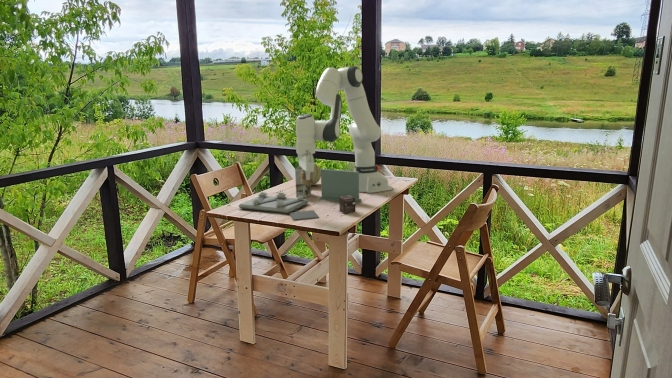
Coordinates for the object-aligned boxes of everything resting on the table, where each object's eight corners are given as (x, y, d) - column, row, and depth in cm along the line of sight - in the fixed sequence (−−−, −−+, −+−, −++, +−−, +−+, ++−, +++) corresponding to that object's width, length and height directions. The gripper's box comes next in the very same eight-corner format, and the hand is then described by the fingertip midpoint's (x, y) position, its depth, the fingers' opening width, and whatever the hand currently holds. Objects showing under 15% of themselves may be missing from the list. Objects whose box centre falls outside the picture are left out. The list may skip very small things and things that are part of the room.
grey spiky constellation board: (237, 209, 244) (236, 195, 242) (261, 199, 263) (260, 186, 261) (289, 214, 231) (288, 200, 230) (310, 203, 250) (309, 190, 249)
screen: (319, 199, 258) (318, 170, 255) (325, 196, 263) (324, 168, 260) (356, 203, 248) (355, 173, 244) (361, 201, 253) (360, 170, 249)
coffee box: (307, 197, 264) (306, 168, 260) (296, 197, 265) (294, 168, 261) (311, 193, 272) (310, 165, 269) (300, 193, 274) (299, 165, 270)
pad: (313, 211, 236) (313, 210, 236) (319, 217, 225) (318, 216, 225) (289, 213, 233) (289, 212, 233) (293, 220, 222) (293, 219, 222)
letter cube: (310, 181, 232) (310, 170, 231) (312, 183, 227) (312, 172, 226) (300, 181, 231) (300, 171, 230) (302, 183, 226) (302, 172, 225)
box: (344, 214, 230) (343, 199, 228) (339, 211, 235) (338, 196, 233) (355, 212, 232) (355, 197, 230) (350, 209, 237) (350, 195, 236)
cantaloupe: (293, 187, 288) (291, 162, 285) (303, 182, 302) (302, 158, 298) (315, 188, 283) (314, 163, 280) (325, 183, 296) (324, 159, 293)
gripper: (317, 152, 217) (317, 182, 220) (308, 146, 236) (308, 174, 239) (303, 152, 215) (304, 183, 218) (295, 147, 234) (296, 175, 237)
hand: (306, 178), depth 229 cm, fingers closed on letter cube, 5 cm apart
